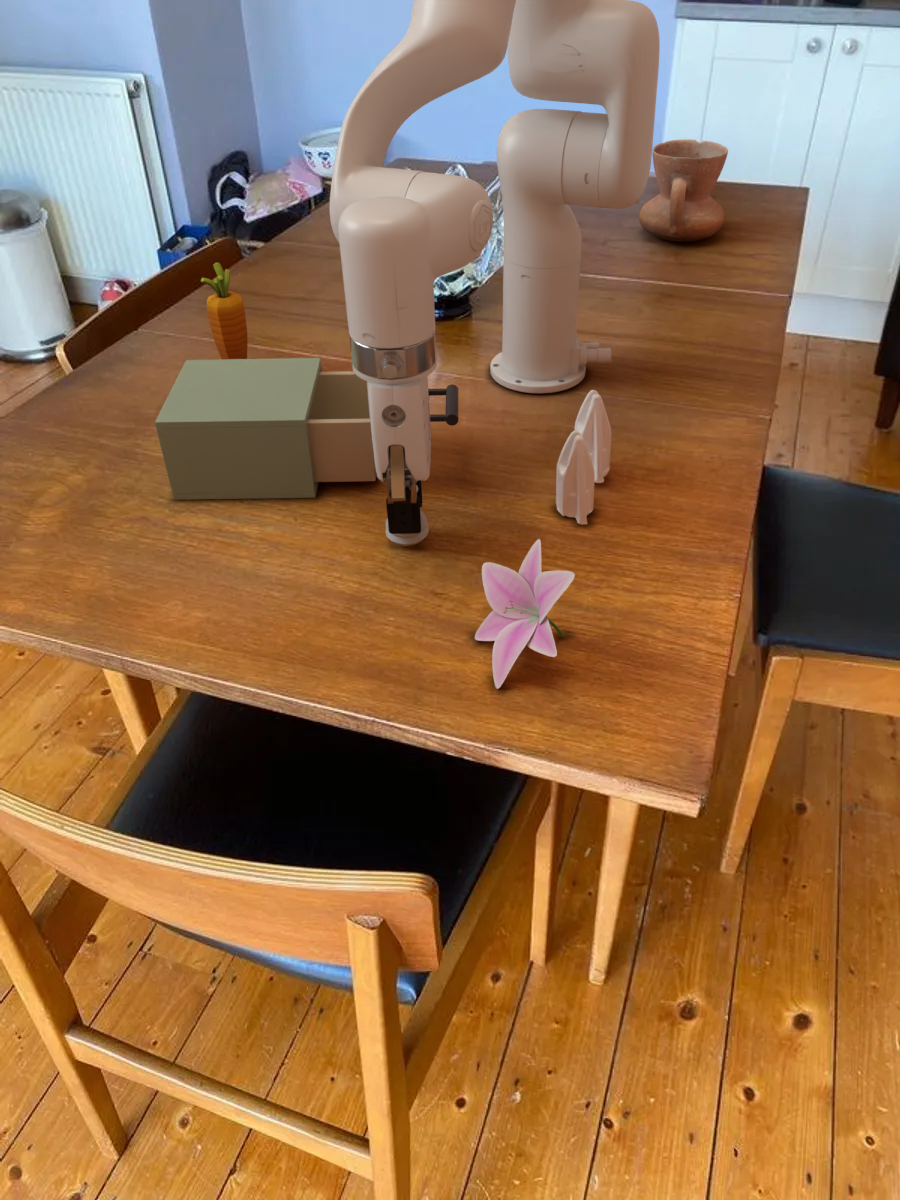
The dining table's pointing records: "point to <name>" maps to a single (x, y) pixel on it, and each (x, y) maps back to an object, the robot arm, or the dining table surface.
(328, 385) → the drawer
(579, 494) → the shaker set
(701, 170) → the ceramic jug
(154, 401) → the dining table surface
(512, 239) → the robot arm
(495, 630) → the lily
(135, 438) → the dining table surface
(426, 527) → the rook chess piece
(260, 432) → the cabinet
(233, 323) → the carrot
